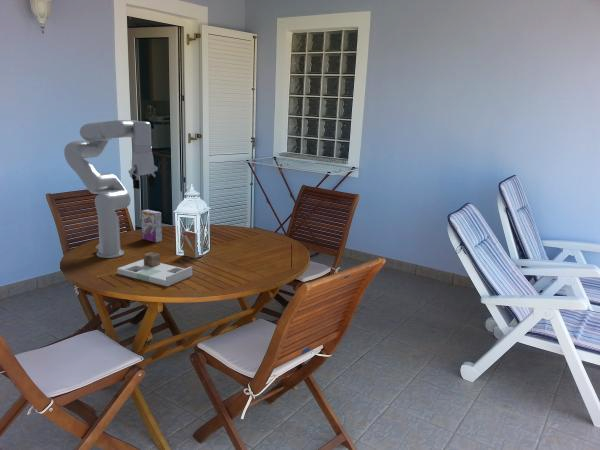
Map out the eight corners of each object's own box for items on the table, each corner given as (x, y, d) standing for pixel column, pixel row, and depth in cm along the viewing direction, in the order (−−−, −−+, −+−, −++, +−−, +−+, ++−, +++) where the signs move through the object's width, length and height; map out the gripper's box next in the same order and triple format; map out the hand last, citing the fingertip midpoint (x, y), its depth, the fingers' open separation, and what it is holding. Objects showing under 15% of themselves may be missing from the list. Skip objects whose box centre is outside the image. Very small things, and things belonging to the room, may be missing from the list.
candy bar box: (141, 239, 271) (140, 210, 267) (148, 237, 275) (147, 209, 271) (155, 243, 265) (154, 213, 261) (162, 241, 269) (161, 212, 265)
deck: (117, 273, 216) (117, 264, 215) (143, 264, 230) (143, 255, 229) (167, 286, 204) (167, 277, 203) (192, 275, 218) (192, 266, 217)
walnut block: (143, 265, 221) (143, 254, 220) (151, 262, 225) (151, 252, 224) (152, 267, 219) (151, 256, 218) (160, 264, 223) (159, 253, 222)
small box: (182, 255, 246) (182, 230, 243) (191, 252, 251) (191, 228, 248) (195, 258, 242) (195, 233, 239) (203, 255, 248) (203, 230, 244)
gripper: (150, 147, 228) (151, 184, 232) (122, 150, 213) (123, 188, 217) (162, 148, 225) (163, 185, 229) (135, 151, 210) (136, 190, 214)
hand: (144, 187), depth 223 cm, fingers open, 9 cm apart
